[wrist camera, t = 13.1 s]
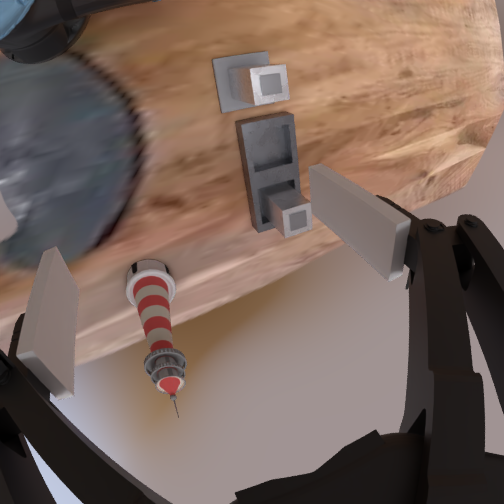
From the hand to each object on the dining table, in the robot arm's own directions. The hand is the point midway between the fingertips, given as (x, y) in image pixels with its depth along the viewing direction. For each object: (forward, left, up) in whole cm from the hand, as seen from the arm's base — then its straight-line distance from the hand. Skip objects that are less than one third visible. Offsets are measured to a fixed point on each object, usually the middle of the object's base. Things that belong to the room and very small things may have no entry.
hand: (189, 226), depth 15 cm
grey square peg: (-2, +16, -36) cm, 40 cm away
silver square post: (+19, +18, -36) cm, 45 cm away
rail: (+14, +18, -37) cm, 43 cm away
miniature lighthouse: (+28, -8, -37) cm, 47 cm away
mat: (-2, +16, -37) cm, 40 cm away
